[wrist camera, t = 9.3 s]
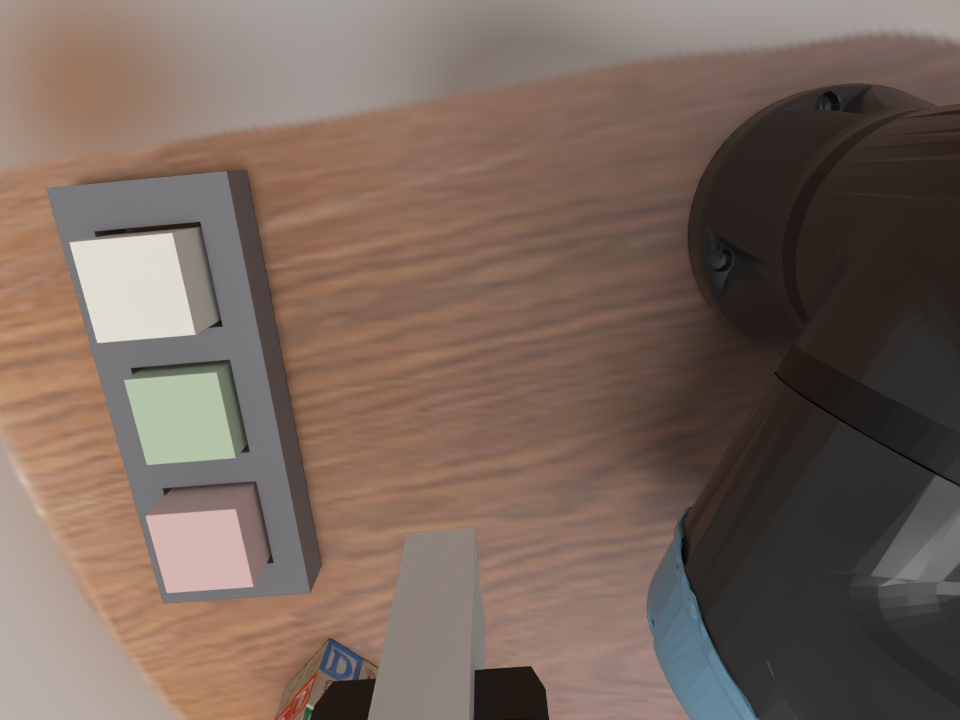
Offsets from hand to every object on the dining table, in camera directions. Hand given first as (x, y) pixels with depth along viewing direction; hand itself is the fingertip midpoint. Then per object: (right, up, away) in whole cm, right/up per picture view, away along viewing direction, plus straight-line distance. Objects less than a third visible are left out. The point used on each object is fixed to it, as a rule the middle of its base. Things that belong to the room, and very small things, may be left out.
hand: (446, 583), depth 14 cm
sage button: (-17, +3, +27) cm, 31 cm away
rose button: (-16, -5, +28) cm, 32 cm away
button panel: (-17, +3, +27) cm, 32 cm away
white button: (-17, +10, +23) cm, 30 cm away
